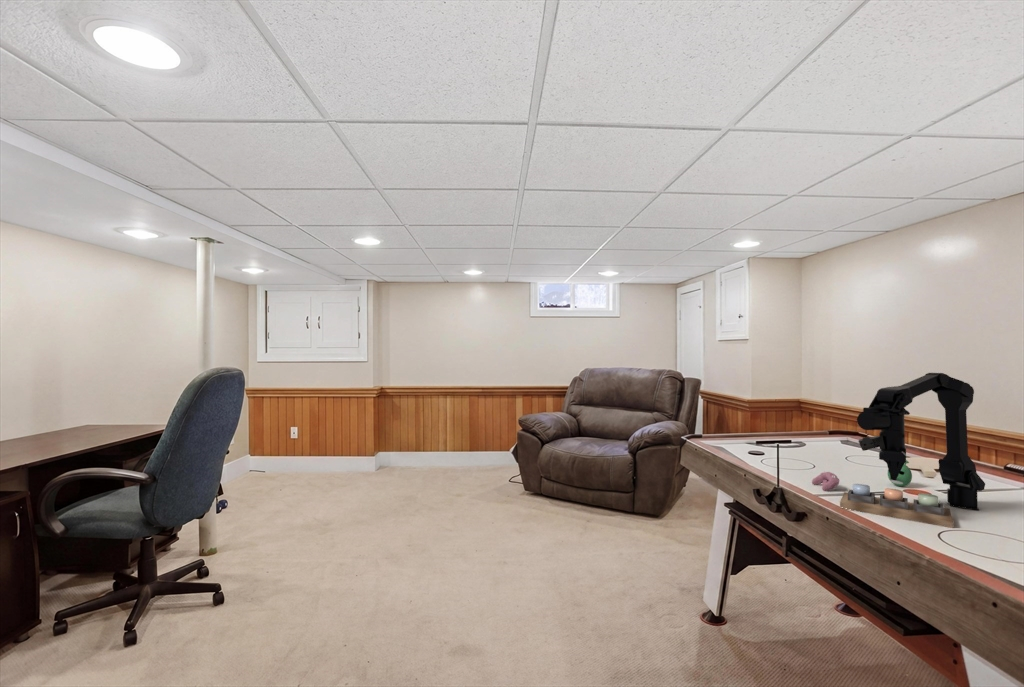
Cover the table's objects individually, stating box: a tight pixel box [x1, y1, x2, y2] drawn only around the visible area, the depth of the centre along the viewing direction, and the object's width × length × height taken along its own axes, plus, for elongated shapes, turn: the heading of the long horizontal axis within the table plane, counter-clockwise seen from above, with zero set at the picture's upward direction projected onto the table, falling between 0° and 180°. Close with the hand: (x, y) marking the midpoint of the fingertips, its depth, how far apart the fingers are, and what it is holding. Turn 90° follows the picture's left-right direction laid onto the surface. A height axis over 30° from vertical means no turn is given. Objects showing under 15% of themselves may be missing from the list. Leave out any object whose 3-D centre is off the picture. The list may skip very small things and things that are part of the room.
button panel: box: [839, 489, 954, 529], centre depth 145 cm, size 26×14×4 cm, turn 50°
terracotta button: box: [883, 487, 904, 502], centre depth 145 cm, size 4×4×3 cm
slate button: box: [852, 483, 871, 497], centre depth 150 cm, size 4×4×3 cm
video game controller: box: [811, 470, 840, 492], centre depth 170 cm, size 10×5×7 cm, turn 169°
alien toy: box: [887, 459, 913, 487], centre depth 174 cm, size 7×8×10 cm
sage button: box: [917, 492, 939, 507], centre depth 139 cm, size 4×4×3 cm
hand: (893, 480), depth 145 cm, fingers closed
